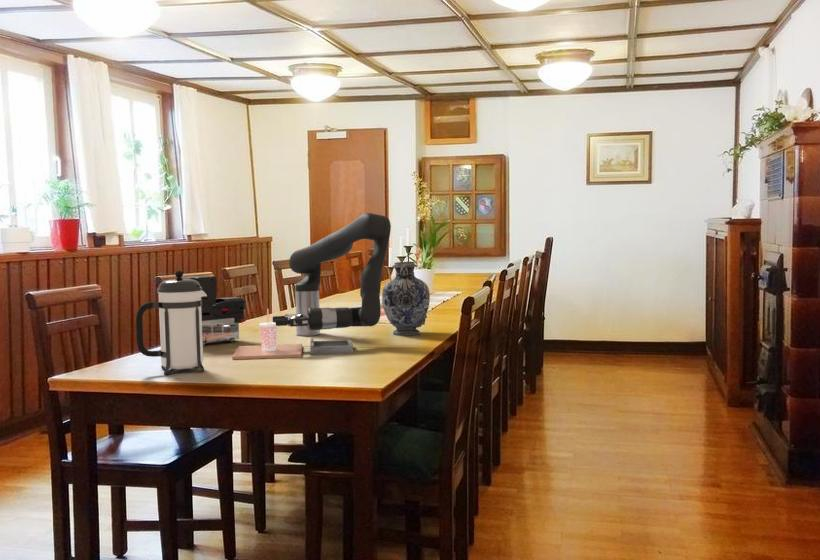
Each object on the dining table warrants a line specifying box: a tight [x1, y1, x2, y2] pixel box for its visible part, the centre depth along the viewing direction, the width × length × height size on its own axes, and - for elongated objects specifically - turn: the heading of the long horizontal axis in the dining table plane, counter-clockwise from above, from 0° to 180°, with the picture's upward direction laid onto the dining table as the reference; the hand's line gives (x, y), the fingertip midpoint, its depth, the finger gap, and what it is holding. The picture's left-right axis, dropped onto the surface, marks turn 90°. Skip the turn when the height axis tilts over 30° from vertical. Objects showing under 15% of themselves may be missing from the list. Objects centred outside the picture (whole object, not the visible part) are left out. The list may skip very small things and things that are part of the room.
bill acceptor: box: [181, 275, 246, 347], centre depth 286 cm, size 10×23×25 cm, turn 129°
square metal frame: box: [309, 337, 354, 356], centre depth 265 cm, size 14×14×4 cm
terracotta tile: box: [231, 343, 303, 360], centre depth 262 cm, size 22×22×1 cm
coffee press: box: [135, 270, 207, 376], centre depth 231 cm, size 17×16×30 cm
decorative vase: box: [381, 261, 431, 337], centre depth 302 cm, size 21×19×28 cm
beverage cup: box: [258, 308, 278, 351], centre depth 262 cm, size 6×6×14 cm
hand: (274, 321), depth 262 cm, fingers open, 8 cm apart
